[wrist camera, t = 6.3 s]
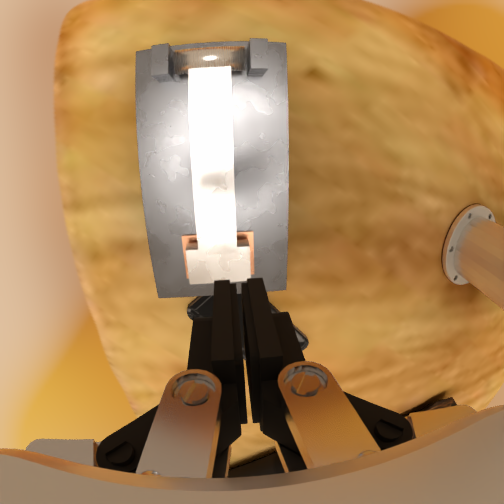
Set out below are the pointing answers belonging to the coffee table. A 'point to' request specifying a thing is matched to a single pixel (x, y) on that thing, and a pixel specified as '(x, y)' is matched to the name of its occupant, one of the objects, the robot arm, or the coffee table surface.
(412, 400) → the coffee table surface
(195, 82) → the latch bar
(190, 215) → the base block
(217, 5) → the coffee table surface
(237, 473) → the portable speaker
